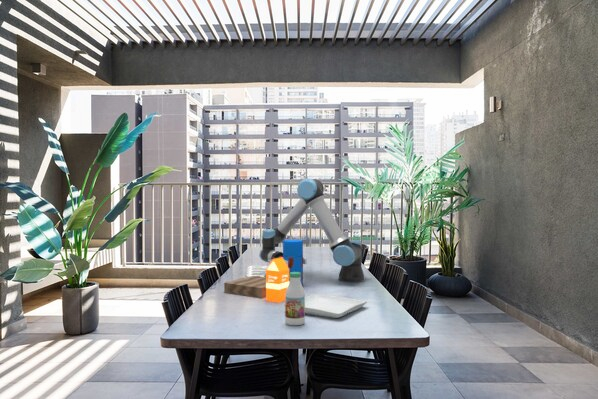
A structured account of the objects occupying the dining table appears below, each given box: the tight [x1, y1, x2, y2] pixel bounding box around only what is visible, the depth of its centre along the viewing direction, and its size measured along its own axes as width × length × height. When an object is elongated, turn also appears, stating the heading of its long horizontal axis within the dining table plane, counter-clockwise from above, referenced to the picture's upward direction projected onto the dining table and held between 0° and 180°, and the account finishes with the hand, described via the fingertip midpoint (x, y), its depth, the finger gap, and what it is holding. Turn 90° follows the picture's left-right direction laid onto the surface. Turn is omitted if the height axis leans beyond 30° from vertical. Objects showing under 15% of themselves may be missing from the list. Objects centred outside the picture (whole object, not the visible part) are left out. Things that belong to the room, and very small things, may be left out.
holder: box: [245, 265, 269, 278], centre depth 292 cm, size 45×18×3 cm, turn 171°
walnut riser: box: [223, 276, 266, 299], centre depth 245 cm, size 24×24×5 cm
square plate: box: [305, 293, 368, 319], centre depth 207 cm, size 27×27×4 cm
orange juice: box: [265, 257, 289, 303], centre depth 226 cm, size 8×9×20 cm
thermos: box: [282, 239, 304, 288], centre depth 257 cm, size 11×11×25 cm
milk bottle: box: [284, 272, 306, 326], centre depth 186 cm, size 8×8×20 cm
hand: (296, 262), depth 254 cm, fingers open, 11 cm apart
